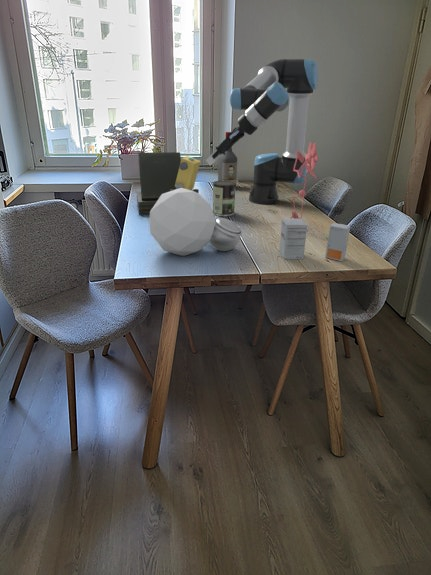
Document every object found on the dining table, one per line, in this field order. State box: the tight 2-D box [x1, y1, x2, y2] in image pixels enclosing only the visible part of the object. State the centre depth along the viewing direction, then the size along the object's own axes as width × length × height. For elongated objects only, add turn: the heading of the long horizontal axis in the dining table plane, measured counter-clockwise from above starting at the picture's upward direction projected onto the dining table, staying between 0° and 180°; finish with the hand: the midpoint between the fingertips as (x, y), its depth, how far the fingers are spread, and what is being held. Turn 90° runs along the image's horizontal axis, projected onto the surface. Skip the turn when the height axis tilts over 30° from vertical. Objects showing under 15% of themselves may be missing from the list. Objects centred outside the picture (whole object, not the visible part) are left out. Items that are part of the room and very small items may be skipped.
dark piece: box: [136, 151, 182, 216], centre depth 200 cm, size 23×20×25 cm
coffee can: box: [212, 180, 237, 217], centre depth 197 cm, size 10×10×14 cm
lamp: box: [148, 188, 242, 257], centre depth 151 cm, size 22×34×24 cm, turn 100°
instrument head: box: [175, 155, 201, 190], centre depth 176 cm, size 6×9×13 cm, turn 159°
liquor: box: [217, 131, 238, 188], centre depth 241 cm, size 9×9×30 cm
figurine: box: [289, 141, 323, 233], centre depth 175 cm, size 15×26×35 cm, turn 6°
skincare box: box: [325, 222, 351, 262], centre depth 150 cm, size 6×4×12 cm
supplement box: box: [278, 218, 308, 260], centre depth 151 cm, size 7×7×13 cm
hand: (208, 162), depth 171 cm, fingers closed
